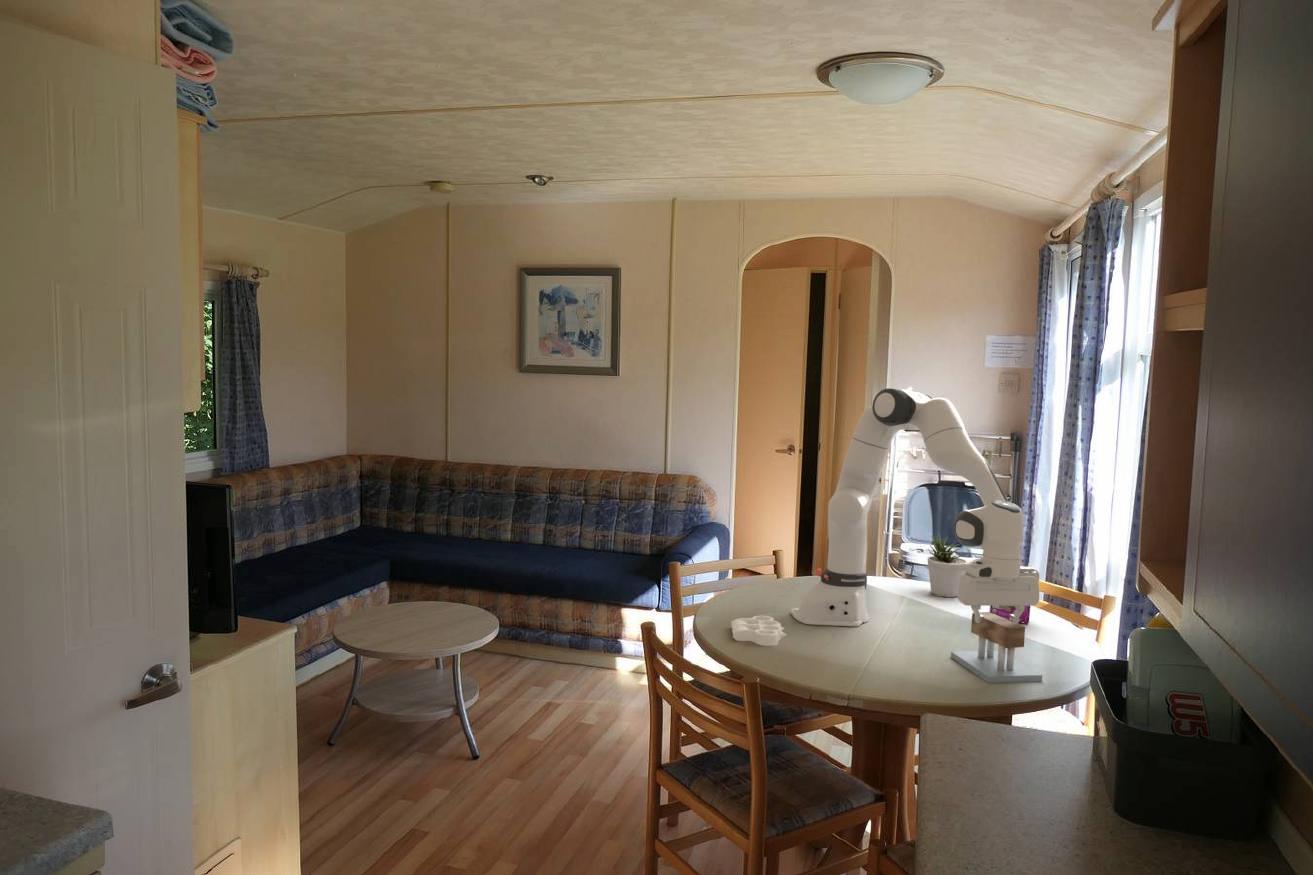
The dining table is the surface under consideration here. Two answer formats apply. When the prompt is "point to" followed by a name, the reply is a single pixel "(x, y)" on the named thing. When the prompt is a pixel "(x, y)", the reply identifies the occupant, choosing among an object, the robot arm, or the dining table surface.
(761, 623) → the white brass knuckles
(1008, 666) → the peg stand
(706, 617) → the dining table surface
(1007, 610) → the candy bar box
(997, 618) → the walnut wood block
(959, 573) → the potted plant
